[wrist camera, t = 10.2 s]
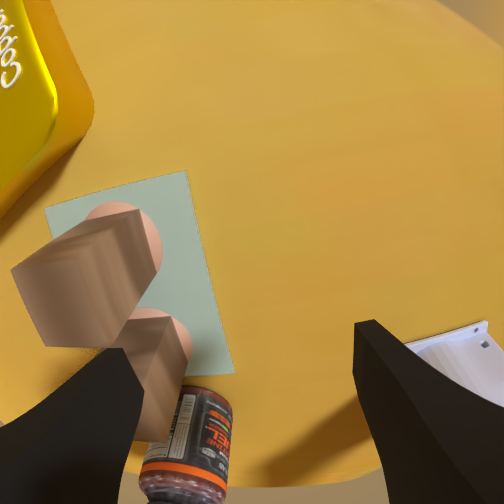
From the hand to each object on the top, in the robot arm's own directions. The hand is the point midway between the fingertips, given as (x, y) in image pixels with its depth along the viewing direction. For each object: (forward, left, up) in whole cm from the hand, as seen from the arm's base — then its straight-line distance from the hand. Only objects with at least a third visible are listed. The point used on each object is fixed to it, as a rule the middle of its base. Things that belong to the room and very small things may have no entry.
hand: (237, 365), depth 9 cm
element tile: (+16, -14, -10) cm, 23 cm away
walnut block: (+8, -2, -9) cm, 12 cm away
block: (+8, +6, -9) cm, 13 cm away
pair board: (+8, +2, -9) cm, 12 cm away
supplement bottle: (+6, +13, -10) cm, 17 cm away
